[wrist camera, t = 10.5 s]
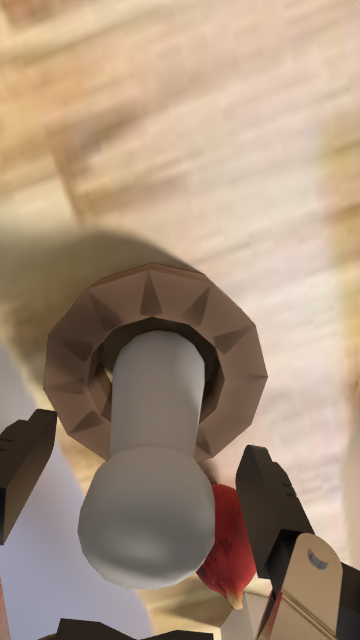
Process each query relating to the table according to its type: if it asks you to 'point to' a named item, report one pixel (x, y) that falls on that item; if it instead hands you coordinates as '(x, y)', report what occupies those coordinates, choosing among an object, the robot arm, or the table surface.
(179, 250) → the table surface
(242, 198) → the table surface
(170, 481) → the salt shaker
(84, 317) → the walnut ring
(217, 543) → the onion
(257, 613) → the white cube
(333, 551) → the robot arm
